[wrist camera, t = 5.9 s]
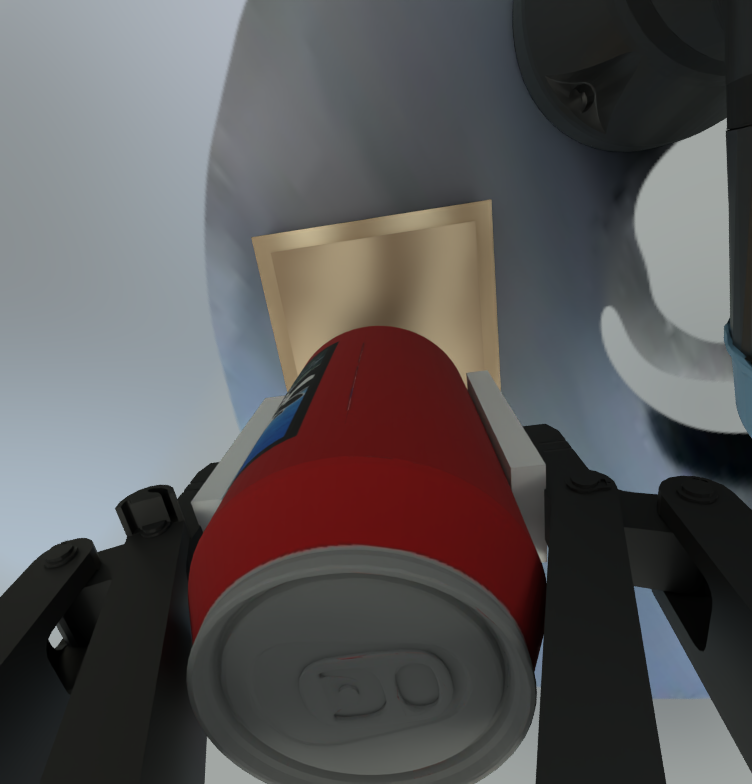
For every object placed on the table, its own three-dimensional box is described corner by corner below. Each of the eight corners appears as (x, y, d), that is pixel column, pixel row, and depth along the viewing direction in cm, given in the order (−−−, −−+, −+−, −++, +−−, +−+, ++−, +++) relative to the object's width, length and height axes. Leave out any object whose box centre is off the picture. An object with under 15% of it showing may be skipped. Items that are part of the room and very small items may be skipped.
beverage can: (276, 339, 17) (57, 563, 6) (450, 302, 16) (574, 481, 5) (321, 486, 19) (225, 845, 8) (475, 459, 19) (597, 815, 8)
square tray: (478, 202, 29) (492, 199, 25) (490, 400, 34) (503, 424, 30) (269, 235, 30) (249, 237, 26) (310, 422, 35) (299, 448, 31)
